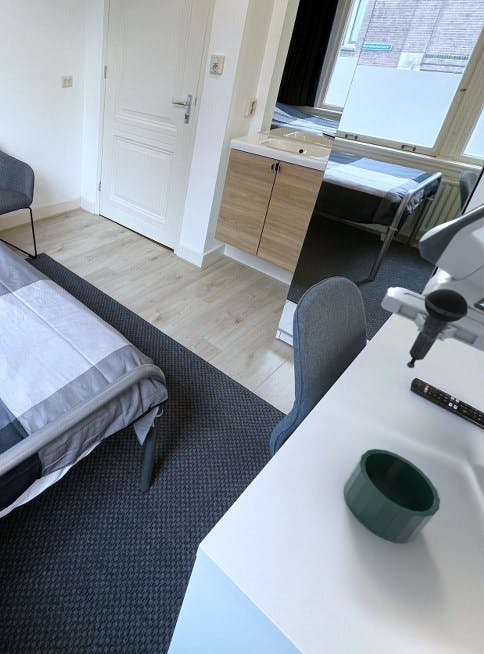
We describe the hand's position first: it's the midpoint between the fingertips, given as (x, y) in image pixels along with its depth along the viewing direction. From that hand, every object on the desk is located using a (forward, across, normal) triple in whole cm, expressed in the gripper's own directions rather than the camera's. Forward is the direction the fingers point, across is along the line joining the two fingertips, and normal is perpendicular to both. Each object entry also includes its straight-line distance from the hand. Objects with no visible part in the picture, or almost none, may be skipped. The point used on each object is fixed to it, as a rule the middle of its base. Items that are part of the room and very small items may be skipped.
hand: (431, 333), depth 86 cm
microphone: (-1, 0, +10) cm, 10 cm away
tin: (+28, +5, +22) cm, 35 cm away
